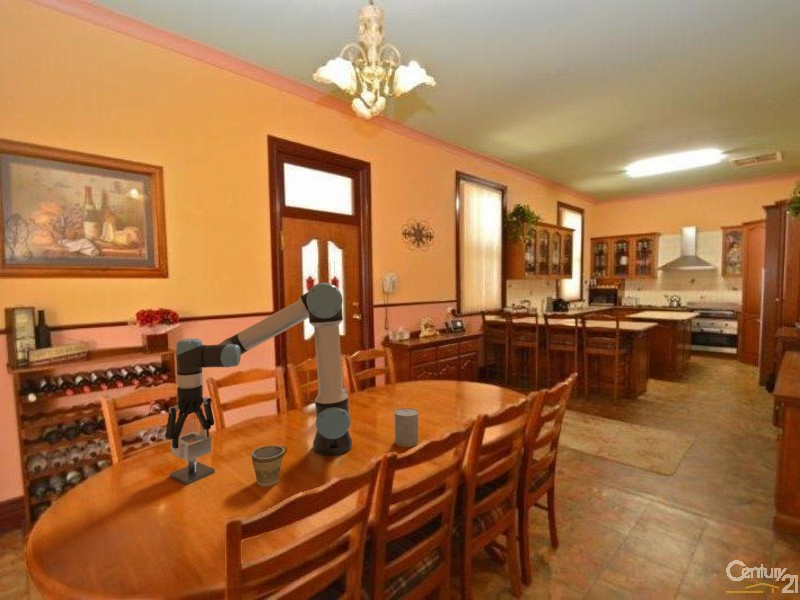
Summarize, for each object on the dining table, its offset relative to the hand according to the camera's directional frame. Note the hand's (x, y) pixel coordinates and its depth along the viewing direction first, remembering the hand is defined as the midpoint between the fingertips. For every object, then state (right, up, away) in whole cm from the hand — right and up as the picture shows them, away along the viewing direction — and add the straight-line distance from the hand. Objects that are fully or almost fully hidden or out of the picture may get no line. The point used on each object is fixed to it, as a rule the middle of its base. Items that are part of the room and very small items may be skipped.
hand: (191, 452), depth 135 cm
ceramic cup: (+28, -8, -3) cm, 29 cm away
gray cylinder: (+73, -7, +28) cm, 78 cm away
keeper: (0, -8, 0) cm, 8 cm away
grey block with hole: (0, 0, 0) cm, 0 cm away
